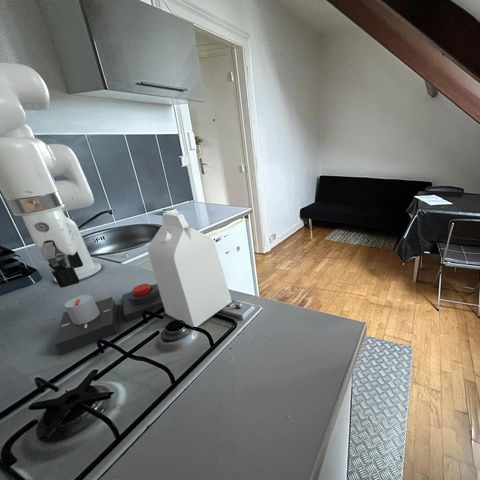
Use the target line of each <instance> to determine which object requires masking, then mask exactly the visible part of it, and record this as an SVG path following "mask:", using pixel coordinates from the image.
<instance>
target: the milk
mask: <svg viewBox="0 0 480 480" xmlns="http://www.w3.org/2000/svg"><path fill="white" fill-rule="evenodd" d="M161 215H162V216H161V217H162V225H161V226H160V228H159V229H158V231H156V233H155V235H154V236H153V238H152V240H151V241H150V243H149V245H148V247H147V253H148V257H149V261H150V264H151V267H152V270H153V274H154V278H155V282H156V284H157V285H158V288H159V292H160V295H161V299H162V302H163V305H164V307H163V308H164V313H165V314H166V315H168V316H170V317H172V318H174V319H176V320H178V321H180V320H182V321H184V322H185V323H184V322H183V323H184V324H186V325H187V326H189V327H191V328H193V327H196V328H197V327H199V326H200V325H201V324H203V323H205V322H206V321H207V320H208V319H210V318H211V317H213V316H214V315H215V314H216V313H218V312H220V311H221V310H222V309H224V308H225V307H227V306H228V305H229V304H231V303H233V300H232V296H231V294H230V290H229V286H228V284H227V280H226V277H225V274H224V270H223V267H222V264H221V260H220V257H219V253H218V249H217V247H216V243H215V241H214V240H213V239H212V238H211V237H210V236H208V235H206V234H204V233H203V232H200V231H199V230H196V229H195V228H193V227H190V225H189V223H188V221H187V219H186V217H185V216H184V214H182V213H178V212H177V213H176V212H172V211H166V212H163V213H162V214H161ZM182 321H181V322H182Z"/></svg>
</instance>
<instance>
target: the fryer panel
mask: <svg viewBox="0 0 480 480" xmlns="http://www.w3.org/2000/svg"><path fill="white" fill-rule="evenodd" d="M95 304H96V306H97V308H98V310H99V312H100V314H99V316H98V317H96V318H95V319H93V320H92V321H90V322H87V323H84V324H79V325H76V324H74V323H73V321H72V319H71V318H70V316H69V314H68V312H67V311H65V312H63V314H62V316H61V320H60V325H59V328H58V332H57V336H56V340H55V343H54V346H55V347H56V349H57V351H58V353H59V354H60V355H61V356H63V355H65V354H68V353H70V352H73V351H76V350H78V349H81V348H83V347H86V346H88V345H91V344H94V343H96V342H98V341H97V340H99V341H101V340H104V339H106V338H109V337H111V336H115V335H117V334H118V323H117V321H118V319H117V305H116V303H115V300H114V298H113V296H111V297H107V298H105V299H102V300H98V301H95Z"/></svg>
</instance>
